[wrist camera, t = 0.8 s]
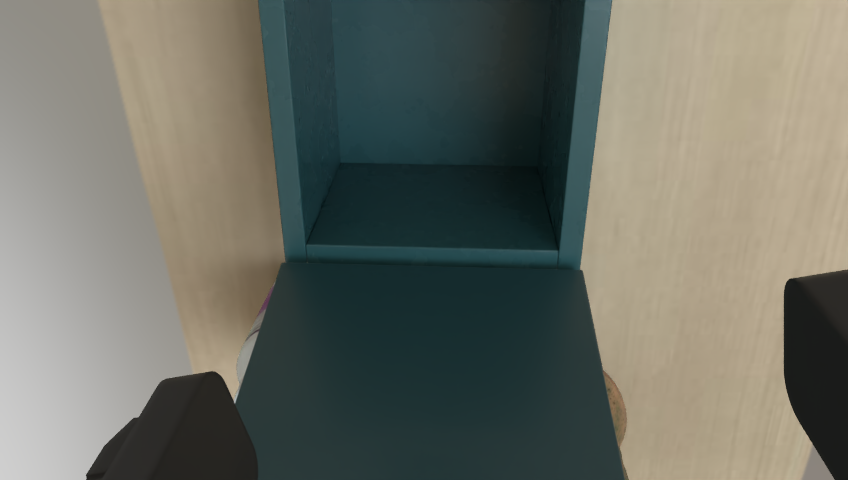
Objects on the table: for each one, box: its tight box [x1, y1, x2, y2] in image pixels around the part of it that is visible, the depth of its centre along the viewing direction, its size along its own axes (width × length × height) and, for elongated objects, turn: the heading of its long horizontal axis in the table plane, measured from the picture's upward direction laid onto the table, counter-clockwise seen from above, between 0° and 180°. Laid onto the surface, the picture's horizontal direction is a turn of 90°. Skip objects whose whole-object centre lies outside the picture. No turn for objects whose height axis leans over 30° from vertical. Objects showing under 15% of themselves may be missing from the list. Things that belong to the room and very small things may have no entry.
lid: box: [235, 263, 625, 480], centre depth 21 cm, size 16×12×1 cm
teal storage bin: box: [258, 0, 612, 270], centre depth 29 cm, size 15×12×10 cm
